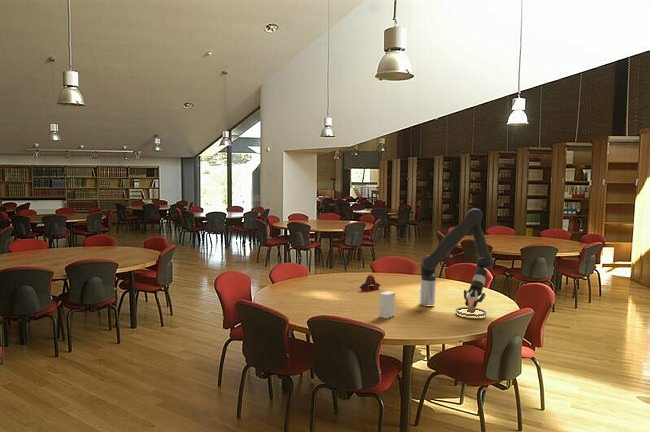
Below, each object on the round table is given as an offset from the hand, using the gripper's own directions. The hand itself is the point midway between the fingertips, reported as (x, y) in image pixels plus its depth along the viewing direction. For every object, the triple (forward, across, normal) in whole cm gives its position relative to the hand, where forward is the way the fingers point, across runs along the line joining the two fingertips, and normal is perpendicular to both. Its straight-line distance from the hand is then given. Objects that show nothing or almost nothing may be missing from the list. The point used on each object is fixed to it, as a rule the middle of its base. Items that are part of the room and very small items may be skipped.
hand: (470, 305), depth 315 cm
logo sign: (-9, -83, +18) cm, 85 cm away
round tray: (+3, 0, +6) cm, 6 cm away
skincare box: (+30, -38, -21) cm, 53 cm away
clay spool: (+2, 0, +4) cm, 5 cm away
